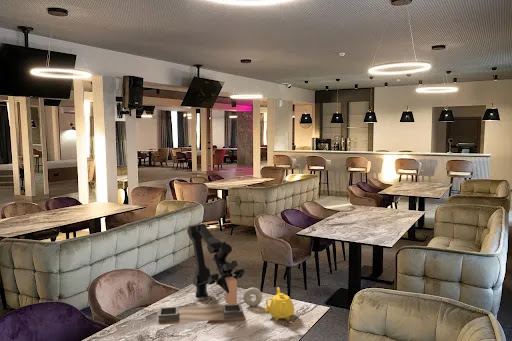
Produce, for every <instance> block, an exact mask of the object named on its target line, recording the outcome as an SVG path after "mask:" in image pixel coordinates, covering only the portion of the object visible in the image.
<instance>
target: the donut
mask: <svg viewBox="0 0 512 341" xmlns="http://www.w3.org/2000/svg"><path fill="white" fill-rule="evenodd" d="M251 295H254V296H255V298H254V299H252V298H251ZM242 298H243V301H244V303H245V304H246V305H247V306H250V307H256V306H259V305H260V304H261V303H262V301H263V293H262V291H261V290H260V289H259V288H257V287H249V288H247V289H245V291H244V293H243V297H242Z"/></svg>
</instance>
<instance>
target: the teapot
mask: <svg viewBox="0 0 512 341" xmlns="http://www.w3.org/2000/svg"><path fill="white" fill-rule="evenodd" d="M280 289H281V288H280V287H279V286H277V287H276V294H275V295H273V296H272V297H268V298H267V299H265V305H266V306H265V307H264V312H267V313H269V314H270V315H271V316H272V317H273V319H274V320H275V321H278V320H279V319H285V320H291V317H292V315H293V314H294V313H295V305H294V303H293V301H292V299H291V297H290V296H288V294H285V293H283V292H282V293H281V290H280ZM269 301H270V302H269ZM268 302H269V303H268Z"/></svg>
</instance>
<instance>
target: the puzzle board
mask: <svg viewBox="0 0 512 341" xmlns="http://www.w3.org/2000/svg"><path fill="white" fill-rule="evenodd" d="M206 321H207V322H206ZM193 322H194V323H195V322H196V323H197V322H205V324H209V325H210V324H219V323H233V322H234V323H235V322H246V317H245V314H244V311H243V307H242V304H241V303H237V304H233V305H229V304H227V303H226V304H214V305H200V306H199V305H198V306H197V305H196V306H185V307H183V306H181V307H179V306H170V307H166V306H165V307H159V308H158V310H157V317H156V322H155V323H156V324H155V325H157V326H158V325H167V324H170V325H171V324H181V323H184V324H185V323H193Z"/></svg>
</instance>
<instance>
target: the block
mask: <svg viewBox="0 0 512 341" xmlns="http://www.w3.org/2000/svg"><path fill="white" fill-rule="evenodd" d="M225 282H226V285H227V287H228V289H229V293H227V292H226V291H225V303H226V304H229V305H233V304H238V302H237V301H238V299H237V298H238V296H237V294H238V292H237V291H238V279H237V280H236V279H235V278H233V277H232V278H231V277H229V278H225Z"/></svg>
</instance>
